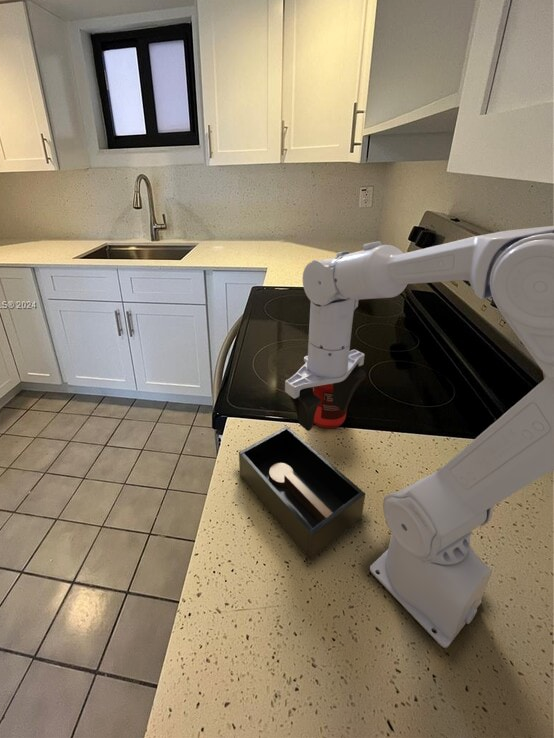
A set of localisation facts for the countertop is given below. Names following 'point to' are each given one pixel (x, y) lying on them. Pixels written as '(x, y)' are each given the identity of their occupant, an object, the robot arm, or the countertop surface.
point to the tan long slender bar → (298, 490)
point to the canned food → (327, 408)
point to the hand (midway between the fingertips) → (323, 416)
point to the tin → (315, 476)
